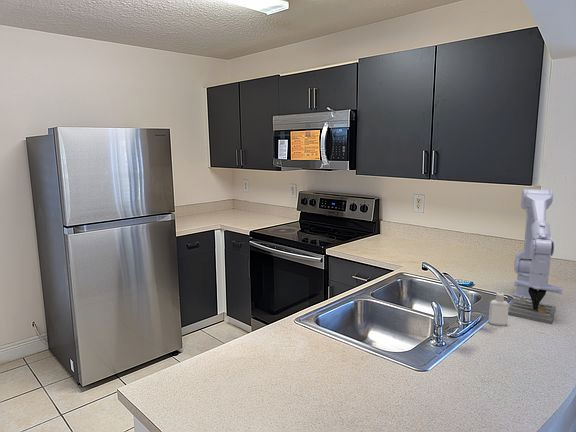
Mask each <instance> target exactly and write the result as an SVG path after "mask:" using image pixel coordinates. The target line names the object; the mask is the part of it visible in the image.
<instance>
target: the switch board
mask: <svg viewBox="0 0 576 432" xmlns="http://www.w3.org/2000/svg"><path fill="white" fill-rule="evenodd" d="M539 305H544V306H546V312H545V313H540V312H538V310H539V306H538V310H534V309H533V303H532V300H531V301H530V300H526V303H522V302H519V298H513V299H512V300H511V302H510V304H509V308H508V316H512V317H517V318H521V319H526V320H529V321H530V320H531V321H535V322H539V323H540V322H541V323H545V324H550V325H553V322H554V317H555V313H556V308H557V306H556V305H555V306H554V305H551V304H545V303H543V302H540V303H539Z"/></svg>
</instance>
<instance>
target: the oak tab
mask: <svg viewBox="0 0 576 432" xmlns="http://www.w3.org/2000/svg"><path fill="white" fill-rule="evenodd" d="M538 312H540V313H545V312H546V306H544V305H539V310H538Z"/></svg>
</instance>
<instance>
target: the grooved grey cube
mask: <svg viewBox="0 0 576 432" xmlns="http://www.w3.org/2000/svg"><path fill="white" fill-rule="evenodd" d="M518 299H519V302H522V303H526V301H527V298H526V296H524V295H522V296H521V295H520V297H518Z"/></svg>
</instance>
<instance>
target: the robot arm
mask: <svg viewBox="0 0 576 432" xmlns="http://www.w3.org/2000/svg"><path fill="white" fill-rule="evenodd" d="M520 200H521V201H520V206H521V209H522V210H525V213H526V219H525V232H524V233H525V234H524V245H523V250H520V251H519V252H517V253H515V257H514V262H513V270H514V272H515V273H516V274H517V275H516V276H517V277H516V279H515V280H514V282H513V283H514V284H513V287H516V288H515V291H514V292H513V297H518V298H519V297H520V295H521V296H522V295H524V296H526V299H529V300H531V301H532V303H533V309H534V310H538V306H539V303H541V301H542V300H543V298H544V297H545V296H546V294H547V292H549V293H555V294H558V295H563V289H564V288H563V287H560V286H557V285H556V286H555V285H553V284H548V283H549V278H550V277H549V275H550V268H551V267H550V266H551V258H552V257H553V255H554V252H555V241H554V239H553V237H551V236H552V235H551V225H550V224H549V222H547V220H546V219H547V210H548V209H549V208H550V206H551V205H553V200H554V192H553V190H552V189H536V188H535V189H531V188H529V189H528V188H524V189H523V190H522V192H521V199H520Z"/></svg>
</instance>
